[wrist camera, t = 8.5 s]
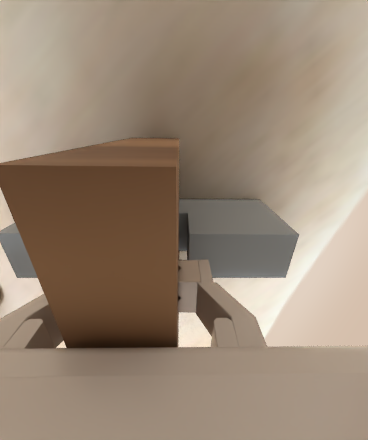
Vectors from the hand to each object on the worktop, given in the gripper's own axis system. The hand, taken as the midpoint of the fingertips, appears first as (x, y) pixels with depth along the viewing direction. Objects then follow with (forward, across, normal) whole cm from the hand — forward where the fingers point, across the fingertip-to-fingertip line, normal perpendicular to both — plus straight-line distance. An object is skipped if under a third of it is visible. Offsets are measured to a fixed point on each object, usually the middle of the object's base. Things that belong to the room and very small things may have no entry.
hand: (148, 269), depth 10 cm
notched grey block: (+7, 0, 0) cm, 7 cm away
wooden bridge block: (+6, 0, 0) cm, 6 cm away
